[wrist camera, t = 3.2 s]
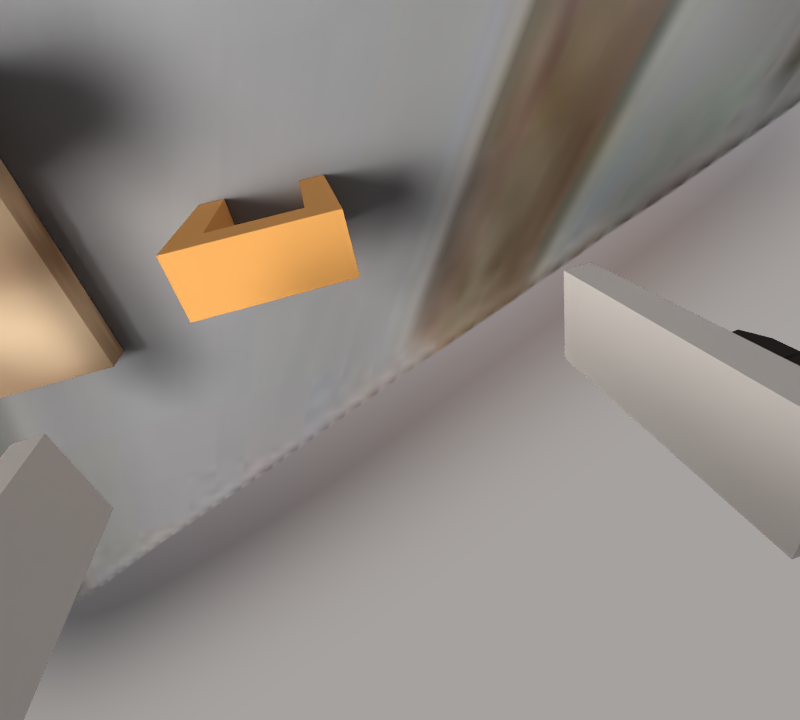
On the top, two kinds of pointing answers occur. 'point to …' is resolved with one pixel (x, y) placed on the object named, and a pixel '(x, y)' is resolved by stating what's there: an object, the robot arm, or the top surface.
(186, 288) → the orange u-shaped bracket
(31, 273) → the wooden l-shaped stand
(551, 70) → the top surface
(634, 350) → the robot arm
